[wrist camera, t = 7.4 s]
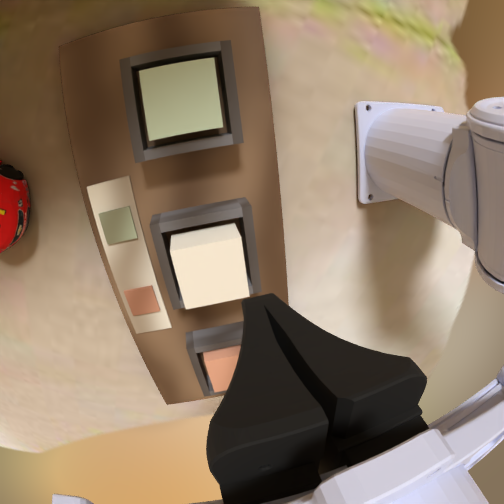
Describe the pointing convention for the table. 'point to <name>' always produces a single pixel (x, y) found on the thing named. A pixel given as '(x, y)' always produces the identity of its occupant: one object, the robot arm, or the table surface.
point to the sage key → (181, 98)
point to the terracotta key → (221, 366)
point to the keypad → (176, 180)
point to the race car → (12, 206)
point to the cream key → (209, 265)
